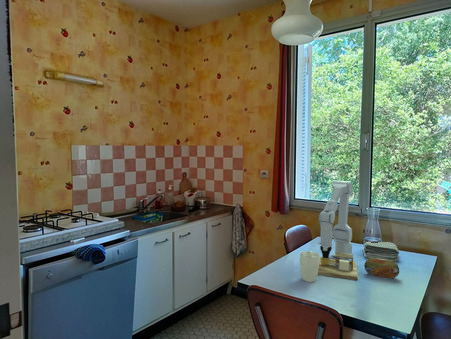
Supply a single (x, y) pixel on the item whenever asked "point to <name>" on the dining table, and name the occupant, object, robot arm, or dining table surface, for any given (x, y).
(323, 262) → the slider
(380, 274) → the tin
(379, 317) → the dining table surface
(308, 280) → the cup
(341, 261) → the block
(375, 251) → the towel
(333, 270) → the board tunnel
